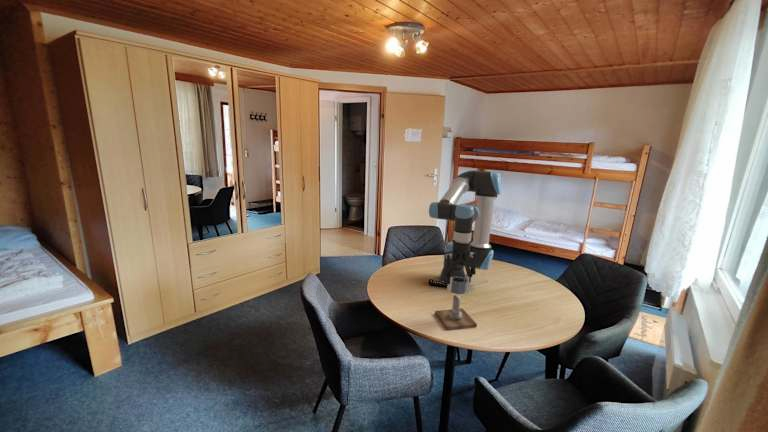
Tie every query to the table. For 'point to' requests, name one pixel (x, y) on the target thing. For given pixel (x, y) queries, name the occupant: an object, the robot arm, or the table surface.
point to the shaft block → (455, 317)
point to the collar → (459, 285)
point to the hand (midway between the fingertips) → (457, 289)
